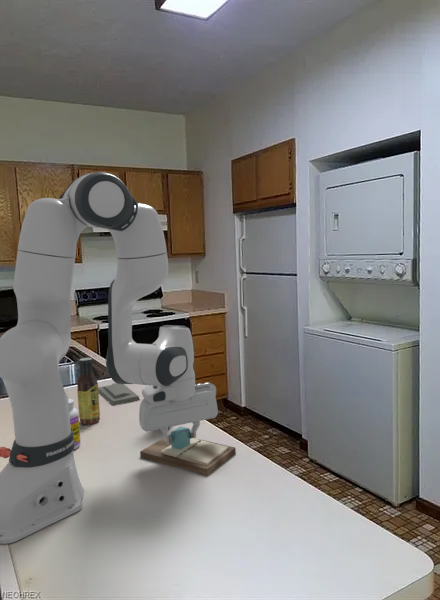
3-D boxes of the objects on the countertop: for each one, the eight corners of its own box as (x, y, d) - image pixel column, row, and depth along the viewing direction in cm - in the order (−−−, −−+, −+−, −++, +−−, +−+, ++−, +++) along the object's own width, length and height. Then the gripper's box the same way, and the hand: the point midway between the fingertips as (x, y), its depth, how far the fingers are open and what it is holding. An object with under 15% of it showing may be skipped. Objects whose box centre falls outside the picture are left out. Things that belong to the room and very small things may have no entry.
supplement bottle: (73, 453, 122) (69, 406, 121) (50, 452, 124) (46, 405, 122) (85, 442, 129) (81, 397, 127) (63, 441, 130) (59, 397, 129)
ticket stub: (176, 457, 114) (175, 439, 113) (161, 453, 116) (160, 435, 116) (200, 441, 122) (199, 425, 122) (184, 438, 125) (183, 422, 124)
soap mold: (123, 387, 181) (122, 378, 180) (140, 401, 163) (139, 392, 163) (97, 392, 176) (96, 383, 175) (111, 407, 158) (110, 397, 158)
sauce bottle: (97, 425, 141) (92, 361, 139) (76, 426, 141) (71, 362, 139) (103, 417, 148) (98, 356, 145) (83, 418, 148) (78, 357, 146)
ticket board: (207, 475, 107) (206, 466, 107) (140, 457, 118) (139, 448, 118) (235, 453, 118) (235, 444, 118) (172, 438, 129) (171, 430, 129)
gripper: (210, 378, 124) (213, 428, 126) (135, 390, 116) (139, 443, 118) (220, 384, 119) (222, 436, 120) (142, 397, 110) (145, 453, 112)
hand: (180, 440), depth 119 cm, fingers closed on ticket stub, 5 cm apart
